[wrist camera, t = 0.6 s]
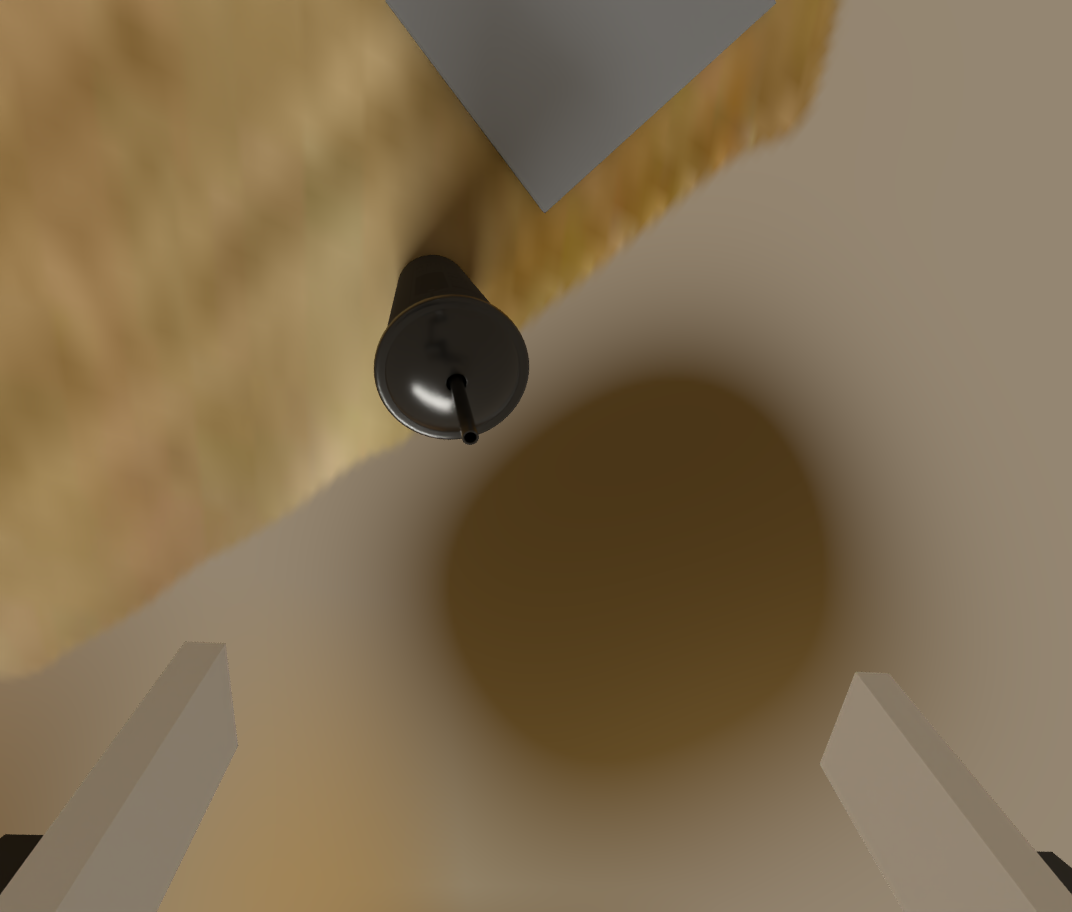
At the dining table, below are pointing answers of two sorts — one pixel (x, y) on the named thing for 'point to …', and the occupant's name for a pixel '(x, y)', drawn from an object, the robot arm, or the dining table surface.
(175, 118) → the dining table surface
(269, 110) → the dining table surface
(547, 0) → the placemat
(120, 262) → the dining table surface
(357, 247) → the dining table surface
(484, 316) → the drinking cup
